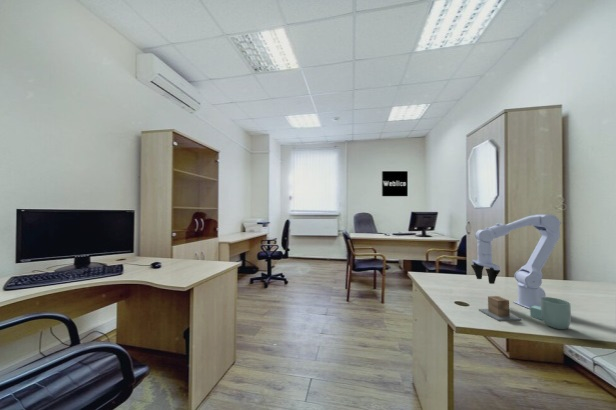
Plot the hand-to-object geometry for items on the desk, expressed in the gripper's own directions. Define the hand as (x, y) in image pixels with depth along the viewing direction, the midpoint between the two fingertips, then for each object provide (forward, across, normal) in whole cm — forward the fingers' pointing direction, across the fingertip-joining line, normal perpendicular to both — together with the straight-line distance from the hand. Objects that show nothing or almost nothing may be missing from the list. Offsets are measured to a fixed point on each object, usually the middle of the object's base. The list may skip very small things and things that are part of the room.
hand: (485, 281), depth 115 cm
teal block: (+10, +18, +8) cm, 22 cm away
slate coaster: (+10, +15, -7) cm, 19 cm away
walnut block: (+9, +15, -7) cm, 19 cm away
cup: (+10, +26, +6) cm, 29 cm away
